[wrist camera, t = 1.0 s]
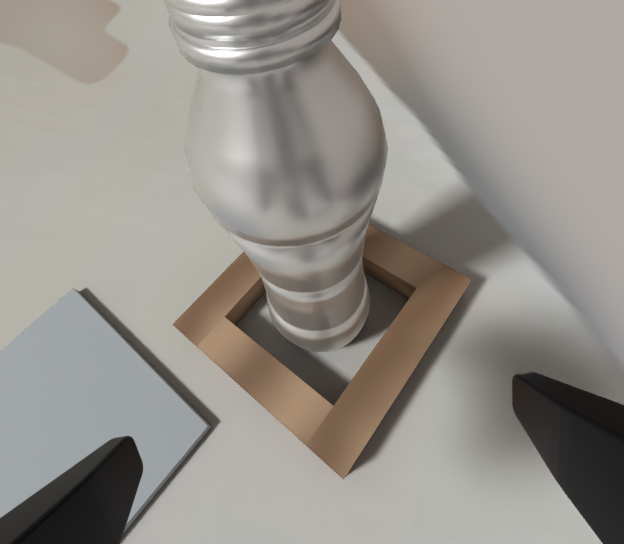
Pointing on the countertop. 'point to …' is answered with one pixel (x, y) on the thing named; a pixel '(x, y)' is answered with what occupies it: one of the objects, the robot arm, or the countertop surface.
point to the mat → (85, 404)
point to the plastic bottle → (285, 154)
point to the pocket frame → (371, 376)
